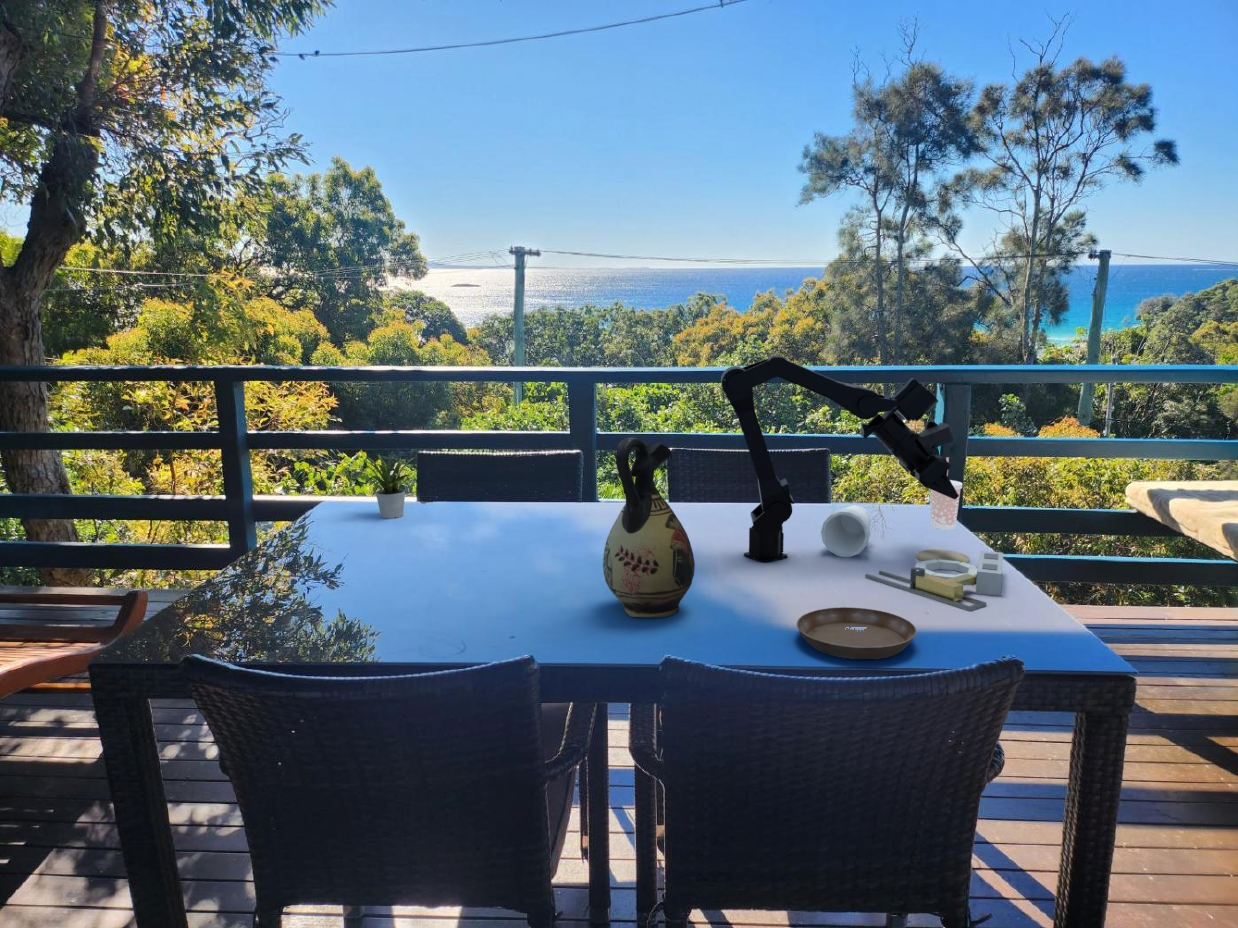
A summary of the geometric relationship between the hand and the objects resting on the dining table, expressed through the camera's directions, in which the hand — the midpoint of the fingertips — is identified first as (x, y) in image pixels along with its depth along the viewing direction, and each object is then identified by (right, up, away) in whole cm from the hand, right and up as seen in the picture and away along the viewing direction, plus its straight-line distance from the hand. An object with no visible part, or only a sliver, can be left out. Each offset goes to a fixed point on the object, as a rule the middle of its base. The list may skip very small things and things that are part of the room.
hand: (952, 494), depth 178 cm
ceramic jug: (-61, -19, -25) cm, 69 cm away
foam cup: (-15, -6, +16) cm, 23 cm away
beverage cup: (-1, -7, +1) cm, 7 cm away
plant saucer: (-30, -22, -40) cm, 54 cm away
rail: (-12, -17, -16) cm, 26 cm away
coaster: (-1, -13, +3) cm, 13 cm away
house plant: (-123, -7, +45) cm, 131 cm away
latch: (-8, -16, -17) cm, 25 cm away
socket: (-3, -15, -11) cm, 19 cm away
